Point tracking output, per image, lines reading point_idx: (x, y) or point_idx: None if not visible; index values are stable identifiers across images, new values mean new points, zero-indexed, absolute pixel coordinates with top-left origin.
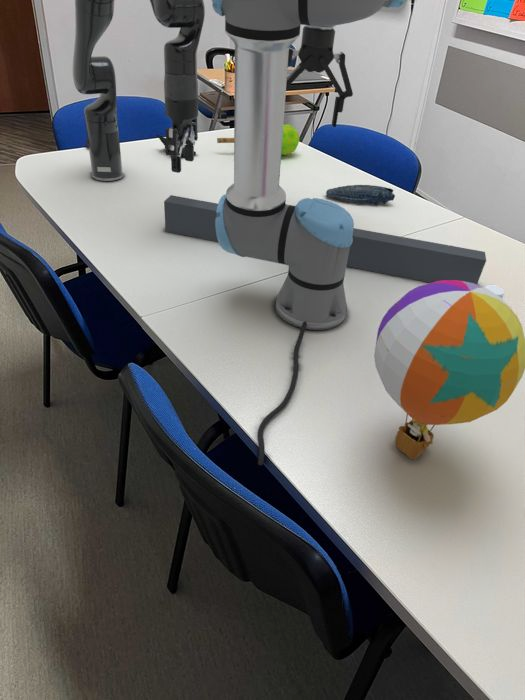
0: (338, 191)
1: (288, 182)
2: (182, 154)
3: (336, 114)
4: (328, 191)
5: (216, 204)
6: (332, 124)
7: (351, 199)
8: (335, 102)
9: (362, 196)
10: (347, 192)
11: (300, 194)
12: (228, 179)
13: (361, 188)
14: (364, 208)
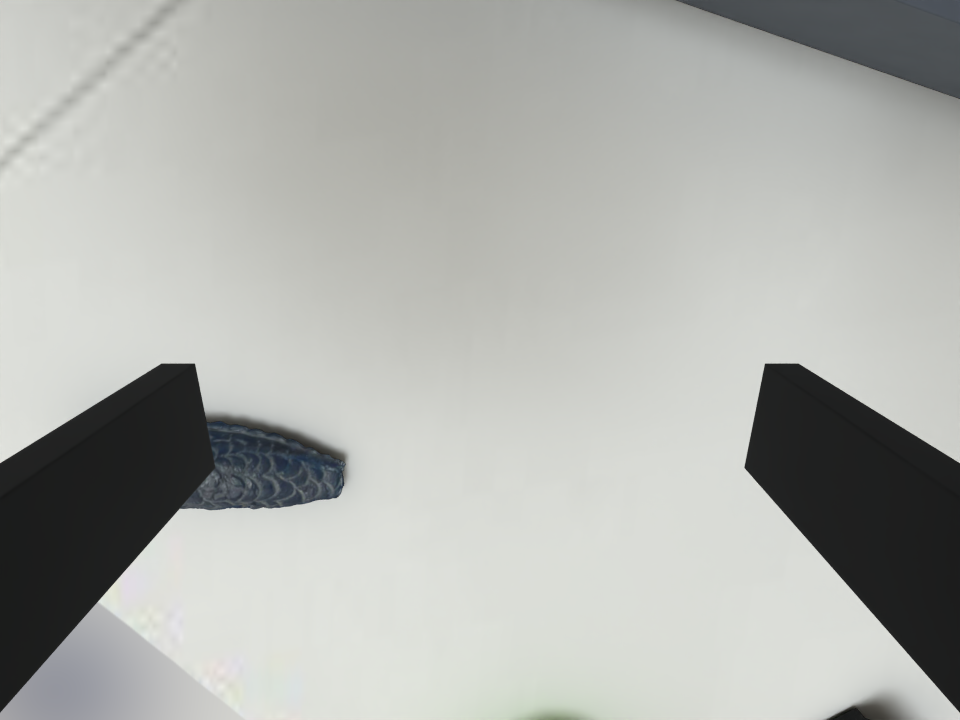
0: (291, 469)
1: (484, 573)
2: (862, 718)
3: (83, 421)
4: (334, 480)
5: (954, 1)
6: (201, 421)
7: (241, 428)
8: (28, 614)
9: None
10: (253, 459)
11: (445, 479)
12: (710, 565)
13: None
14: None
